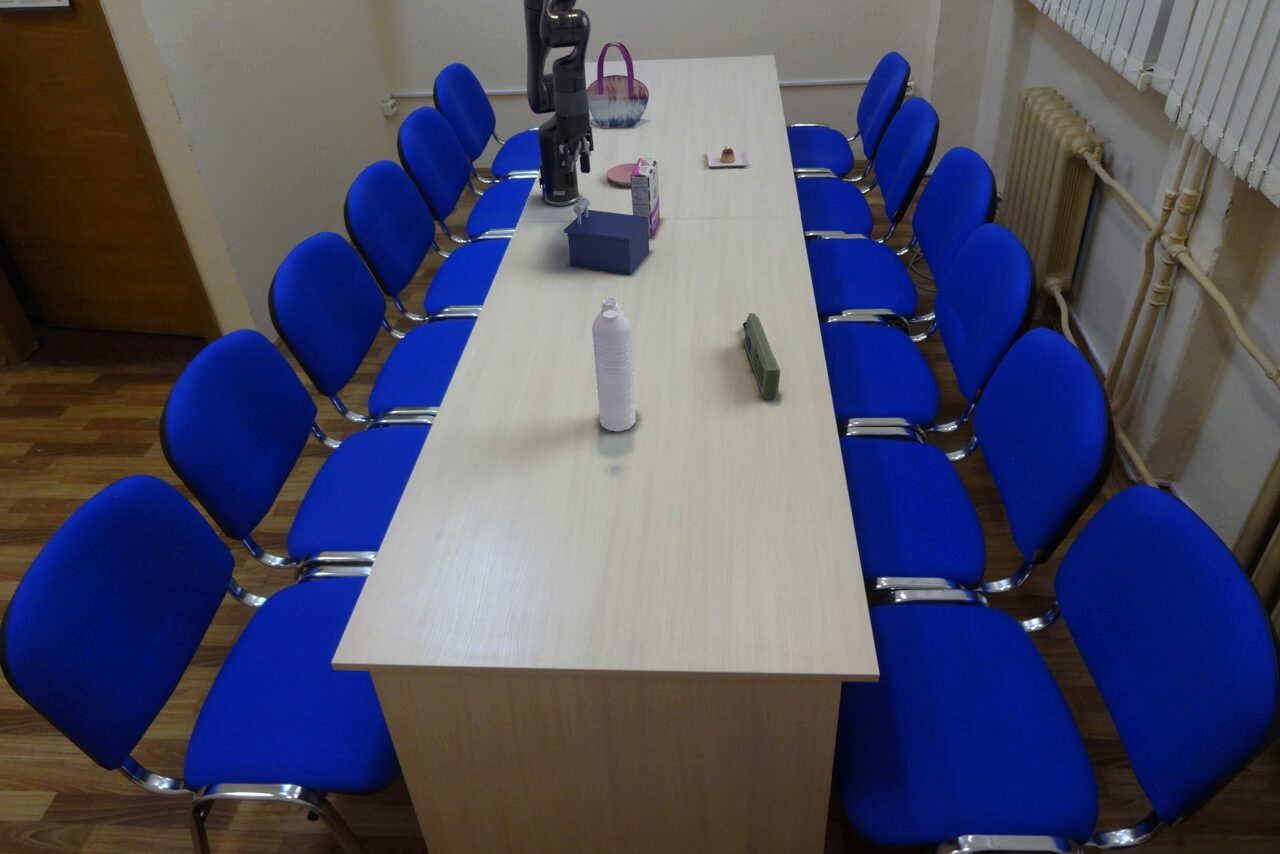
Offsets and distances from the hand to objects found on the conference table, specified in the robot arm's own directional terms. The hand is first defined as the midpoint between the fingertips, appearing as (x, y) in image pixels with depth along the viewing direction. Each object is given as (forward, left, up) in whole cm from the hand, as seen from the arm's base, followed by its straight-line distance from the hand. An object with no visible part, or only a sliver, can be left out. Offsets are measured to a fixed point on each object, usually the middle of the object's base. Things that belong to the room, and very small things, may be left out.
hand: (577, 179), depth 198 cm
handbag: (-58, +75, -19) cm, 96 cm away
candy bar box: (+3, +20, -19) cm, 27 cm away
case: (+7, +2, -19) cm, 20 cm away
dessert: (-8, +69, -19) cm, 72 cm away
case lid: (+7, +1, -10) cm, 12 cm away
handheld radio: (+61, -13, -19) cm, 65 cm away
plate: (-22, +42, -19) cm, 51 cm away
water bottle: (+53, -45, -19) cm, 72 cm away
